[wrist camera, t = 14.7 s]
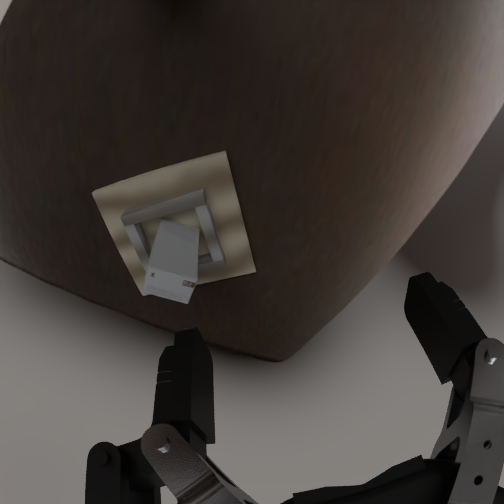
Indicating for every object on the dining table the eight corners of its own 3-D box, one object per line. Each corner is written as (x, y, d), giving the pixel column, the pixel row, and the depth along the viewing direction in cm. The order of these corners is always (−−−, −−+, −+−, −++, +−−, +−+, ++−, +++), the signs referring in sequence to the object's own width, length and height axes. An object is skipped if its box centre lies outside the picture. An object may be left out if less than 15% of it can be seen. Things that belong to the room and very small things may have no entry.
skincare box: (154, 239, 44) (138, 294, 34) (162, 214, 41) (145, 265, 31) (193, 251, 45) (187, 307, 35) (202, 227, 43) (198, 280, 33)
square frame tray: (94, 190, 39) (85, 200, 36) (225, 150, 38) (226, 157, 35) (143, 292, 50) (140, 305, 47) (255, 268, 50) (257, 281, 47)
